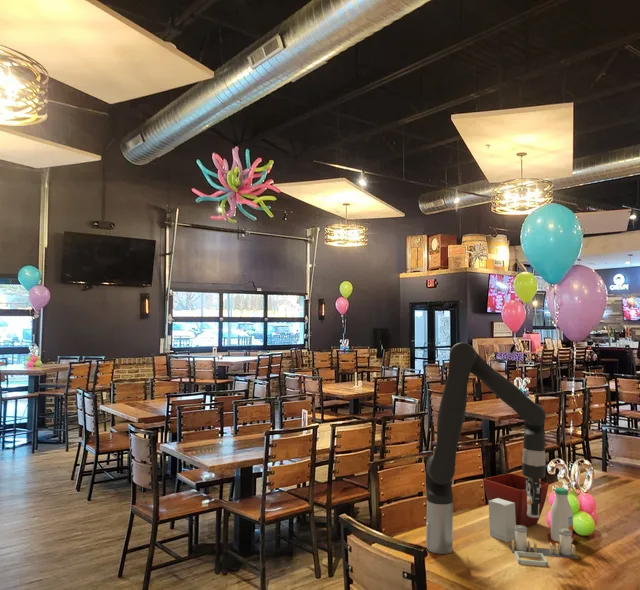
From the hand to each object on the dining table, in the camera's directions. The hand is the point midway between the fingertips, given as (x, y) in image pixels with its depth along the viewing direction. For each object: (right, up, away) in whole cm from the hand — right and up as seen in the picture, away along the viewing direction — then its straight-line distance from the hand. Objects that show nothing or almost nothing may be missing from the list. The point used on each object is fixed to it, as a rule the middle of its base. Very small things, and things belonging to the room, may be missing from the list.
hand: (532, 512), depth 192 cm
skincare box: (-5, -18, +17) cm, 25 cm away
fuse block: (+5, -17, +4) cm, 18 cm away
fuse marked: (0, -1, 0) cm, 1 cm away
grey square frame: (-2, -17, -4) cm, 17 cm away
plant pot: (+8, -19, +38) cm, 44 cm away
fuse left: (-2, -16, +5) cm, 16 cm away
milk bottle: (+17, -18, +17) cm, 30 cm away
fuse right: (+13, -16, +3) cm, 20 cm away
